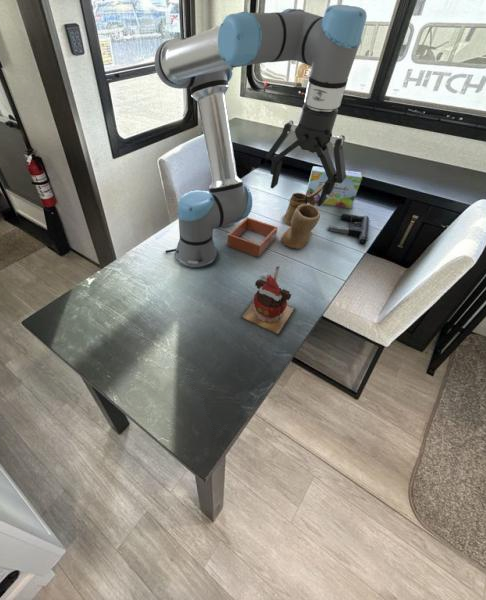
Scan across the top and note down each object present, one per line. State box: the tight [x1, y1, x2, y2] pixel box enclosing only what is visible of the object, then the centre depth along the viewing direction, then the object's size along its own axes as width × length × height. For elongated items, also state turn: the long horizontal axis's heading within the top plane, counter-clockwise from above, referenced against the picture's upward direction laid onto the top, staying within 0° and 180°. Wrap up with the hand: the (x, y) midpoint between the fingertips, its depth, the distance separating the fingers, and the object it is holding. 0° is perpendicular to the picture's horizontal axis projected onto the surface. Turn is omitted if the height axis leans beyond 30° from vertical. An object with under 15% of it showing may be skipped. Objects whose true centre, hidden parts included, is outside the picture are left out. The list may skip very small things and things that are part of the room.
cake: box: [253, 264, 292, 322], centre depth 90 cm, size 11×9×18 cm
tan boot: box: [280, 203, 321, 250], centre depth 120 cm, size 15×12×15 cm
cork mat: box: [241, 301, 295, 335], centre depth 96 cm, size 12×12×1 cm
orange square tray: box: [226, 216, 279, 258], centre depth 122 cm, size 14×16×5 cm
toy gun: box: [327, 213, 371, 245], centre depth 130 cm, size 3×20×16 cm
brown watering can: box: [282, 184, 325, 226], centre depth 129 cm, size 9×14×18 cm, turn 63°
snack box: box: [305, 165, 363, 209], centre depth 143 cm, size 21×6×15 cm, turn 73°
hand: (296, 194), depth 83 cm, fingers open, 13 cm apart
